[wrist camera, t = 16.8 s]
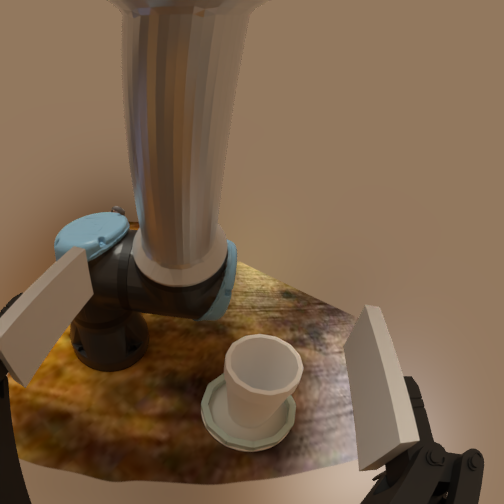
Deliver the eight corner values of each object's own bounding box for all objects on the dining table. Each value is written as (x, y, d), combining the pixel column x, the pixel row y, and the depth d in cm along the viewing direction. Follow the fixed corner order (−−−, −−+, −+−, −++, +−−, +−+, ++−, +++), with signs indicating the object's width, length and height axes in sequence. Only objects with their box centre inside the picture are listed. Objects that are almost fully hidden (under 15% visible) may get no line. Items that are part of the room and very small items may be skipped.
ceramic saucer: (192, 382, 42) (192, 375, 41) (273, 369, 47) (275, 362, 46) (215, 461, 30) (215, 457, 29) (307, 436, 35) (311, 431, 34)
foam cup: (250, 377, 44) (264, 324, 37) (290, 412, 38) (317, 365, 32) (205, 406, 37) (208, 356, 31) (246, 448, 32) (265, 409, 26)
